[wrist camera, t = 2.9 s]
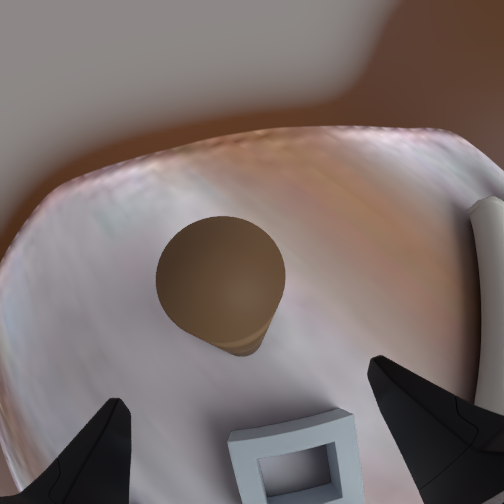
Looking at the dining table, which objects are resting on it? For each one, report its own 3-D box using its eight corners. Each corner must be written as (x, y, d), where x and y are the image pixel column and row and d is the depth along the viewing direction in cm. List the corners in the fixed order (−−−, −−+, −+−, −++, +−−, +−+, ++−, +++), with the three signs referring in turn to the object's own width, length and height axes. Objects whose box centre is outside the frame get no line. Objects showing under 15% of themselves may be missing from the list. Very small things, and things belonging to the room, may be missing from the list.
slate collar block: (351, 489, 13) (364, 504, 11) (250, 512, 13) (250, 531, 10) (339, 408, 17) (353, 414, 14) (230, 431, 16) (227, 442, 13)
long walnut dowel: (266, 352, 18) (298, 326, 6) (224, 359, 18) (161, 348, 5) (258, 312, 20) (270, 207, 7) (217, 319, 19) (154, 227, 7)
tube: (512, 444, 9) (511, 210, 19) (497, 459, 8) (495, 189, 18) (473, 443, 14) (479, 227, 24) (451, 455, 13) (460, 210, 23)
